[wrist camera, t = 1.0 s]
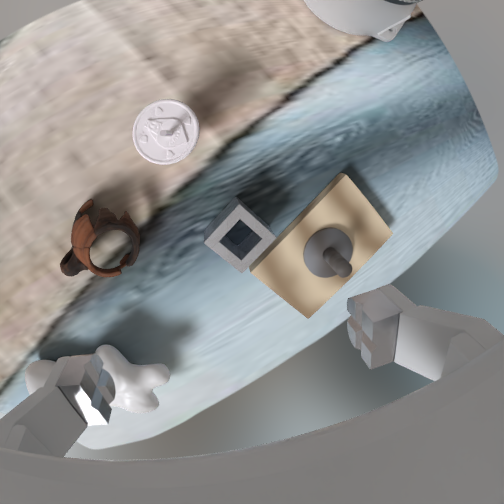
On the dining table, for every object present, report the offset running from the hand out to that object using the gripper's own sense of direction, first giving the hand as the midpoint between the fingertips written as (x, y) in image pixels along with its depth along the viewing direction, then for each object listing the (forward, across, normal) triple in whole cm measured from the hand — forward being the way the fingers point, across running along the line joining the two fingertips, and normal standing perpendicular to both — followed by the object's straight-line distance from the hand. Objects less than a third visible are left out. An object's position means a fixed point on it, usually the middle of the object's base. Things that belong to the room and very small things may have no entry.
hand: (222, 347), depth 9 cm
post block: (+31, -14, +11) cm, 35 cm away
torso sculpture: (+32, +26, +25) cm, 48 cm away
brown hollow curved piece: (+31, +16, +2) cm, 35 cm away
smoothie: (+31, +2, -8) cm, 32 cm away
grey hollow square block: (+31, -2, +6) cm, 31 cm away
